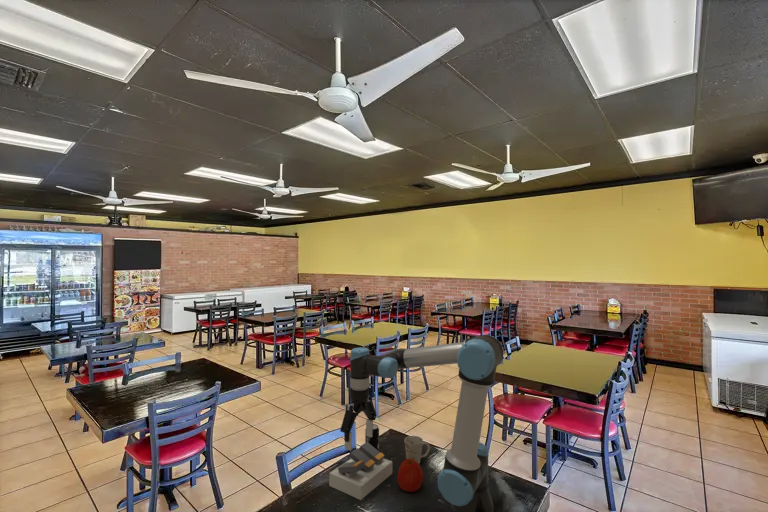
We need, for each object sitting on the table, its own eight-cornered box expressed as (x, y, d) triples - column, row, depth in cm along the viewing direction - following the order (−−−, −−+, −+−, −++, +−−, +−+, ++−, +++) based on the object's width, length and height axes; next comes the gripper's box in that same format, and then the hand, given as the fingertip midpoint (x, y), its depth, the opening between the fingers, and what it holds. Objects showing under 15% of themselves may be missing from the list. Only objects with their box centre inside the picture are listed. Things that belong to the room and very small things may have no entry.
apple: (424, 482, 149) (424, 455, 149) (420, 496, 139) (420, 469, 139) (400, 477, 151) (400, 452, 152) (394, 492, 141) (394, 464, 142)
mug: (401, 459, 166) (401, 437, 166) (424, 454, 171) (424, 432, 171) (409, 468, 158) (410, 445, 159) (434, 462, 164) (434, 440, 164)
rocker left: (364, 466, 144) (363, 460, 144) (357, 471, 140) (356, 465, 140) (346, 467, 149) (345, 462, 149) (339, 473, 145) (337, 466, 145)
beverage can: (377, 456, 169) (377, 429, 169) (363, 454, 170) (363, 428, 171) (380, 449, 175) (380, 424, 176) (367, 447, 177) (367, 422, 177)
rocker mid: (373, 467, 150) (375, 462, 149) (367, 472, 146) (368, 467, 145) (355, 452, 155) (357, 447, 155) (349, 456, 151) (350, 451, 151)
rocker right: (383, 459, 155) (384, 455, 155) (377, 464, 152) (378, 459, 151) (365, 445, 161) (367, 441, 160) (359, 449, 157) (360, 445, 157)
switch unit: (392, 473, 154) (392, 457, 155) (360, 500, 136) (360, 482, 137) (362, 462, 163) (362, 447, 164) (329, 485, 145) (329, 468, 146)
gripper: (370, 378, 156) (370, 428, 155) (331, 394, 136) (330, 452, 135) (384, 381, 152) (384, 433, 151) (346, 398, 132) (345, 458, 131)
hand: (359, 442), depth 143 cm, fingers open, 13 cm apart
